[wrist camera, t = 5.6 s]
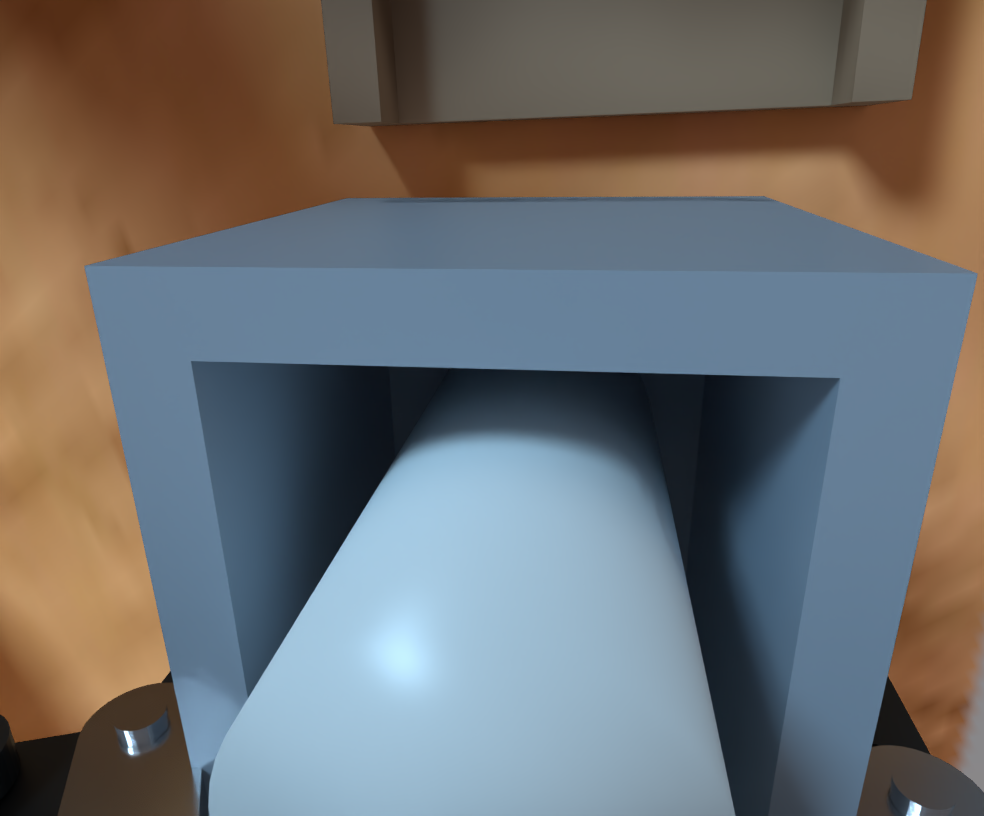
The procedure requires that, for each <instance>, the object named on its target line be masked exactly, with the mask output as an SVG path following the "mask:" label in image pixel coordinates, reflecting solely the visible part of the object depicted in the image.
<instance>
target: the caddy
mask: <svg viewBox="0 0 984 816" xmlns="http://www.w3.org/2000/svg"><path fill="white" fill-rule="evenodd" d="M85 271H86V276H87V280H88V285H89V290H90V295H91V299H92V304H93V309H94V313H95V318H96V323H97V327H98V332H99V337H100V341H101V346H102V351H103V356H104V360H105V365H106V370H107V374H108V379H109V384H110V388H111V393H112V398H113V402H114V407H115V412H116V417H117V421H118V426H119V431H120V435H121V440H122V445H123V449H124V454H125V459H126V463H127V468H128V473H129V477H130V482H131V487H132V492H133V496H134V501H135V506H136V510H137V515H138V520H139V524H140V529H141V534H142V538H143V543H144V548H145V553H146V557H147V562H148V567H149V571H150V576H151V581H152V585H153V590H154V595H155V599H156V604H157V609H158V614H159V618H160V623H161V628H162V632H163V637H164V642H165V646H166V651H167V656H168V660H169V665H170V670H171V675H172V679H173V684H174V689H175V693H176V698H177V703H178V707H179V712H180V717H181V721H182V726H183V731H184V735H185V740H186V745H187V750H188V754H189V759H190V764H191V768H201V769H202V773H203V778H204V783H205V788H206V793H207V798H208V802H209V804H208V816H856V815H857V810H858V806H859V801H860V797H861V792H862V788H863V783H864V779H865V775H866V770H867V766H868V761H869V757H870V752H871V748H872V743H873V739H874V734H875V730H876V725H877V721H878V716H879V712H880V707H881V703H882V699H883V694H884V690H885V685H886V681H887V676H888V672H889V667H890V663H891V658H892V654H893V649H894V645H895V640H896V636H897V632H898V627H899V623H900V618H901V614H902V609H903V605H904V600H905V596H906V591H907V587H908V582H909V578H910V573H911V569H912V565H913V560H914V556H915V551H916V547H917V542H918V538H919V533H920V529H921V524H922V520H923V515H924V511H925V506H926V502H927V498H928V493H929V489H930V484H931V480H932V475H933V471H934V466H935V462H936V457H937V453H938V448H939V444H940V439H941V435H942V430H943V426H944V422H945V417H946V413H947V408H948V404H949V399H950V395H951V390H952V386H953V381H954V377H955V372H956V368H957V363H958V359H959V355H960V350H961V346H962V341H963V337H964V332H965V328H966V323H967V319H968V314H969V310H970V305H971V301H972V296H973V292H974V288H975V283H976V279H977V273H975V272H972V271H969V270H966V269H964V268H961V267H958V266H955V265H953V264H950V263H947V262H944V261H941V260H939V259H936V258H933V257H930V256H928V255H925V254H922V253H919V252H917V251H914V250H911V249H908V248H906V247H903V246H900V245H897V244H894V243H892V242H889V241H886V240H883V239H881V238H878V237H875V236H872V235H870V234H867V233H864V232H861V231H859V230H856V229H853V228H850V227H847V226H845V225H842V224H839V223H836V222H834V221H831V220H828V219H825V218H823V217H820V216H817V215H814V214H812V213H809V212H806V211H803V210H800V209H798V208H795V207H792V206H789V205H787V204H784V203H781V202H778V201H776V200H773V199H770V198H767V197H765V196H731V197H496V198H346V199H342V200H338V201H334V202H330V203H326V204H323V205H319V206H315V207H311V208H307V209H303V210H299V211H295V212H292V213H288V214H284V215H280V216H276V217H272V218H268V219H264V220H261V221H257V222H253V223H249V224H245V225H241V226H237V227H233V228H230V229H226V230H222V231H218V232H214V233H210V234H206V235H202V236H199V237H195V238H191V239H187V240H183V241H179V242H175V243H171V244H168V245H164V246H160V247H156V248H152V249H148V250H144V251H140V252H136V253H133V254H129V255H125V256H121V257H117V258H113V259H109V260H105V261H102V262H98V263H94V264H90V265H86V266H85Z"/></svg>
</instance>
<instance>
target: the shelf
mask: <svg viewBox="0 0 984 816" xmlns="http://www.w3.org/2000/svg"><path fill="white" fill-rule="evenodd" d="M926 1H927V0H321V4H322V14H323V24H324V34H325V44H326V53H327V63H328V73H329V83H330V93H331V102H332V112H333V122H334V124H343V125H360V126H384V125H409V124H433V123H457V122H481V121H505V120H529V119H553V118H577V117H601V116H626V115H650V114H674V113H698V112H722V111H746V110H770V109H794V108H819V107H843V106H867V105H875V104H882V103H890V102H897V101H904V100H911V99H912V93H913V87H914V80H915V73H916V67H917V60H918V54H919V47H920V41H921V34H922V28H923V21H924V15H925V8H926Z"/></svg>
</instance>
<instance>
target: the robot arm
mask: <svg viewBox="0 0 984 816" xmlns="http://www.w3.org/2000/svg"><path fill="white" fill-rule="evenodd" d="M208 804H209V802H208V798H207V793H206V788H205V783H204V778H203V773H202V769H201V768H191V764H190V759H189V754H188V750H187V745H186V740H185V735H184V731H183V726H182V721H181V717H180V712H179V707H178V703H177V698H176V693H175V689H174V684H173V679H172V675H171V671H170V673H169V674H168V675H167V676H166V678H165V679H164V680H163V681H162V683H156V684H150V685H146V686H142V687H139V688H136V689H133V690H131V691H128V692H126V693H124V694H122V695H120V696H118V697H116V698H114V699H113V700H111V701H109V702H108V703H107V704H105V705H104V706H103V707H101V708H100V709H99V710H98V711H97V712H96V713H94V714H93V715H92V716H91V718H90V719H89V720H88V721H87V722H86V724H85V725H84V727H83V729H82V730H81V732H77V733H72V734H66V735H60V736H54V737H48V738H42V739H35V740H29V741H23V742H17V743H15V742H14V739H13V736H12V733H11V730H10V727H9V723H8V721H7V720H6V719H5V717H3V716H2V715H0V816H208ZM856 816H984V793H983V791H982V790H981V789H980V788H979V787H978V786H977V785H976V784H975V783H974V782H973V781H972V780H971V779H969V778H968V777H967V776H966V775H964V774H963V773H962V772H960V771H959V770H957V769H956V768H954V767H953V766H951V765H950V764H948V763H946V762H944V761H942V760H941V759H939V758H937V757H934V756H932V755H930V753H929V751H928V749H927V747H926V745H925V743H924V742H923V740H922V738H921V736H920V734H919V732H918V731H917V729H916V727H915V725H914V723H913V721H912V720H911V718H910V716H909V714H908V712H907V710H906V709H905V707H904V705H903V703H902V701H901V699H900V697H899V696H898V694H897V692H896V690H895V688H894V686H893V685H892V683H891V681H890V679H889V677H888V676H887V681H886V685H885V690H884V694H883V699H882V703H881V707H880V712H879V716H878V721H877V725H876V730H875V734H874V739H873V743H872V748H871V752H870V757H869V761H868V766H867V770H866V775H865V779H864V783H863V788H862V792H861V797H860V801H859V806H858V810H857V815H856Z"/></svg>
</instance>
